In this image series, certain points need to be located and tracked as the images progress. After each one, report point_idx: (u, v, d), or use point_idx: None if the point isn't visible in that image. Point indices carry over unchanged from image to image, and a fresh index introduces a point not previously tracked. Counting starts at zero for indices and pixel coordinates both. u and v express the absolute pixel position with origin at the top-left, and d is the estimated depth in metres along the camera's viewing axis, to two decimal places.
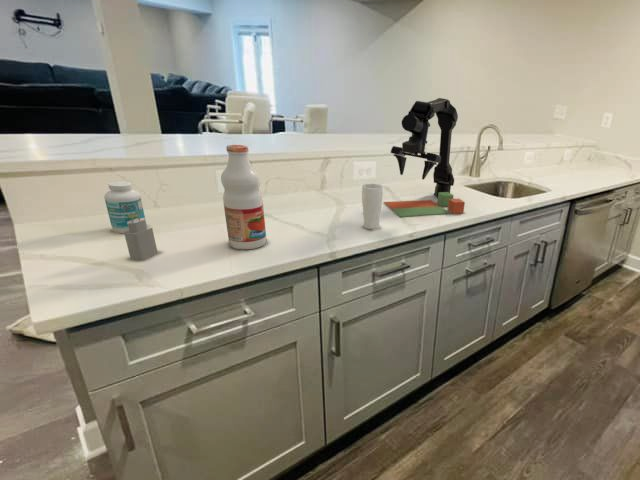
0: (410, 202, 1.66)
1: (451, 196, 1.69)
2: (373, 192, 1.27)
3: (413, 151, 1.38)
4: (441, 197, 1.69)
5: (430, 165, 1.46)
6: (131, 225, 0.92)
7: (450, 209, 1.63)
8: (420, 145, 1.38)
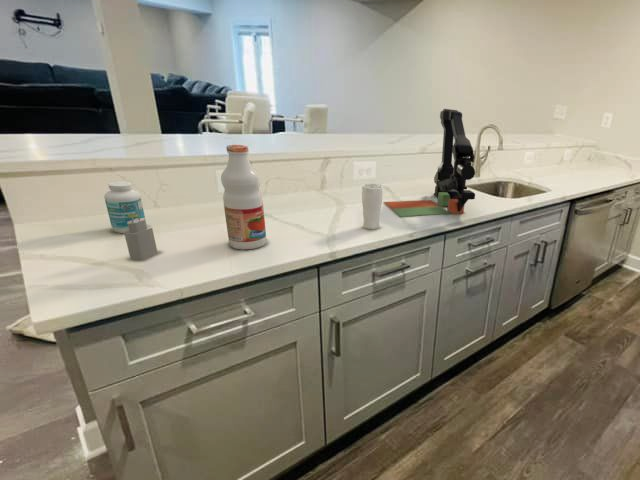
0: (410, 202, 1.66)
1: None
2: (373, 192, 1.27)
3: (445, 190, 1.55)
4: (441, 197, 1.69)
5: None
6: (131, 225, 0.92)
7: (450, 209, 1.63)
8: (449, 185, 1.53)
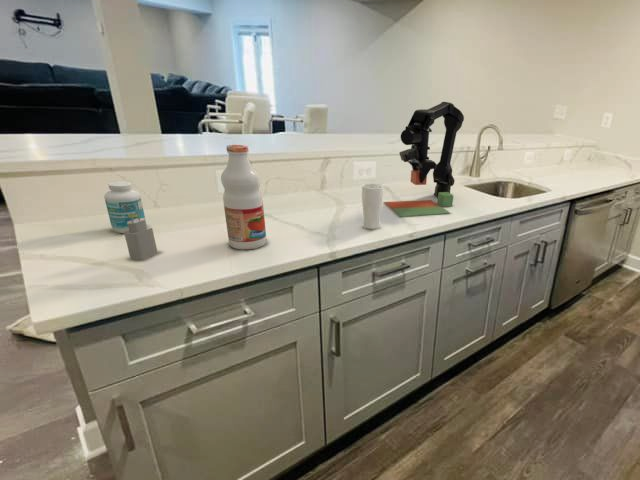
0: (410, 202, 1.66)
1: (451, 196, 1.69)
2: (373, 192, 1.27)
3: (405, 160, 1.52)
4: (441, 197, 1.69)
5: (426, 169, 1.56)
6: (131, 225, 0.92)
7: (412, 180, 1.60)
8: (409, 154, 1.50)
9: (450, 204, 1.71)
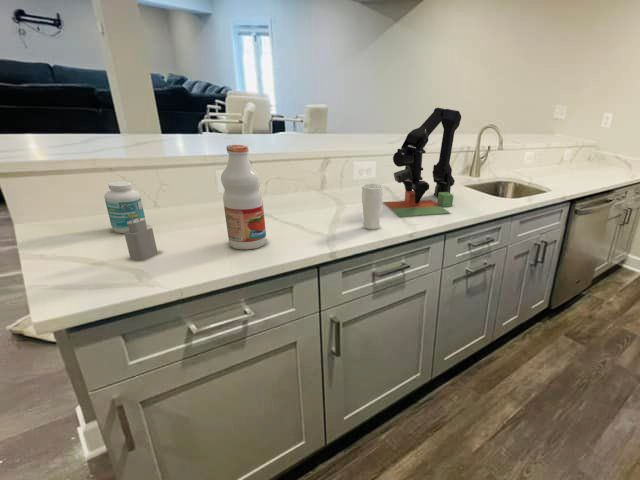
0: None
1: (451, 196, 1.69)
2: (373, 192, 1.27)
3: (399, 181, 1.56)
4: (441, 197, 1.69)
5: (421, 191, 1.58)
6: (131, 225, 0.92)
7: (406, 201, 1.64)
8: (403, 176, 1.53)
9: (450, 204, 1.71)
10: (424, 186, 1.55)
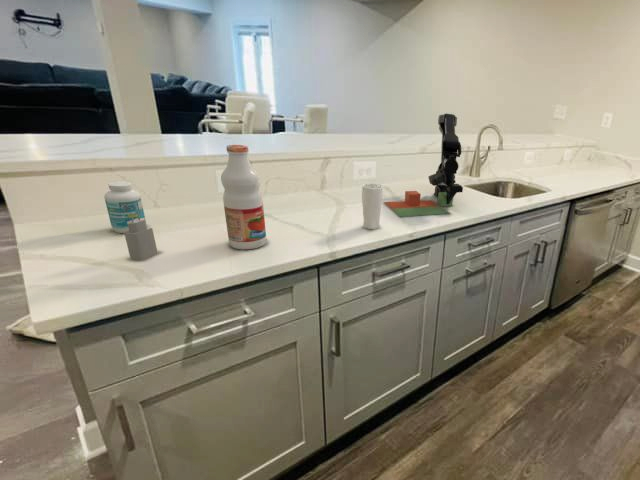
0: None
1: None
2: (373, 192, 1.27)
3: (434, 183, 1.63)
4: (441, 197, 1.69)
5: (453, 192, 1.67)
6: (131, 225, 0.92)
7: (406, 201, 1.64)
8: (438, 179, 1.60)
9: (450, 204, 1.71)
10: (458, 189, 1.62)
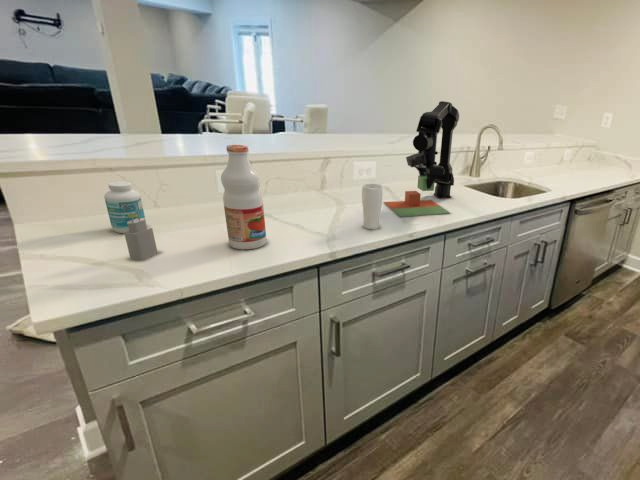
0: None
1: None
2: (373, 192, 1.27)
3: (412, 165, 1.46)
4: (421, 181, 1.52)
5: (434, 175, 1.50)
6: (131, 225, 0.92)
7: (406, 201, 1.64)
8: (416, 159, 1.44)
9: (431, 189, 1.54)
10: (439, 171, 1.45)
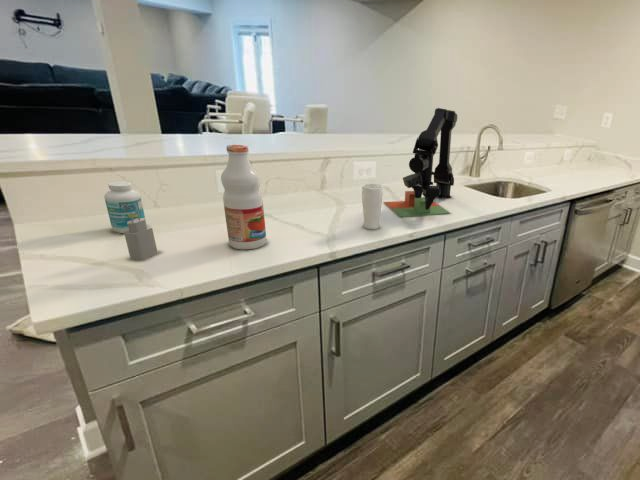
0: None
1: None
2: (373, 192, 1.27)
3: (409, 186, 1.48)
4: (418, 203, 1.54)
5: (432, 196, 1.51)
6: (131, 225, 0.92)
7: (406, 201, 1.64)
8: (413, 180, 1.46)
9: (427, 211, 1.57)
10: (435, 191, 1.47)
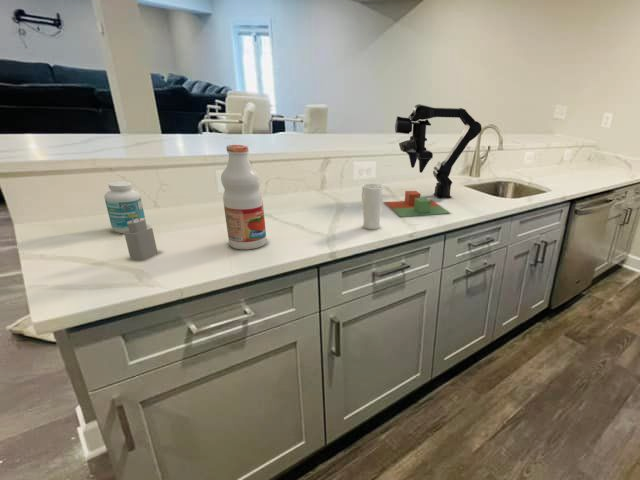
0: None
1: (428, 202, 1.55)
2: (373, 192, 1.27)
3: (404, 150, 1.65)
4: (418, 203, 1.54)
5: (425, 160, 1.68)
6: (131, 225, 0.92)
7: (406, 201, 1.64)
8: (408, 145, 1.63)
9: (427, 211, 1.57)
10: (428, 155, 1.64)
